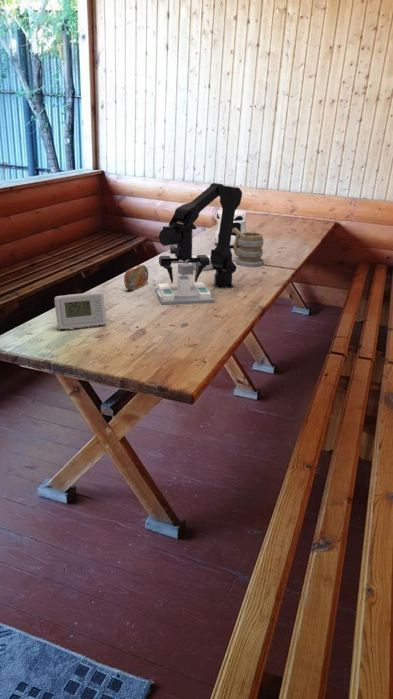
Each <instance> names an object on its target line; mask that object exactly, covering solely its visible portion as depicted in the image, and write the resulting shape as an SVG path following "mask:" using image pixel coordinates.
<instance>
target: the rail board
mask: <svg viewBox="0 0 393 699" xmlns="http://www.w3.org/2000/svg"><path fill="white" fill-rule="evenodd" d="M177 287H178V286H171V287H170V284H169V283H158V284H157V287H155V288H154V291H155V293H156V295H157V297H158V299H159V302H160V303H161V305H164V306H165V305H166V306H167V305H183V304H185V305H186V304H188V305H189V304H206V303H207V304H209V303H215V298H214V297H213V296H212V294H211V291H210V290H209V289H208V288H207V286H206V285H205V284H204V283H203V281H202V282H199V281H197V282H192V286H191V291H190V295H180V294H179V293H178V291H177Z"/></svg>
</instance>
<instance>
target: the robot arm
mask: <svg viewBox="0 0 393 699" xmlns="http://www.w3.org/2000/svg"><path fill="white" fill-rule="evenodd" d="M218 197H219V202H220V206H221V210H222V217H221V224H220V231H219V238H218V244H217V243H216V247H215V248H214V249H213V248H212V249H211V250H210V255H211V257H210V259H211V264H212V269H213V271H214V270H215V273H214V277H213V278H214V279H213V282H214V285H215V286H216V287H217V288H233V287H234V286H233V274H234V273H236V272H237V268H238V267H237V265H236V263H234V261H233V253H232V250H231V247H230V241H231V234H232V227H233V221H234V214H235V210H236V209H237V210H238V207H239V206H240V204H241V201H242V198H243V192H242V190H241V188H240V187H237V186H229V185H224V184H223V183H219V182H218V183H217V182H213V183H211V184H210V185H209V187H207V188H206V189H205V190H204V191H202V192H201V193H200V194H199V195H198V196H196V197H195V198H194V199H192V201H190V202H188V203H184V204H182V205H180V206H178V207H177V208H176V209H175V210H174V214H173V215H172V217H171V220H170V221H169V223H168V226H166V225H165V226H162V230H161V231H160V232H159V235H158V240H159V243H160V244H161V246H163V247H168V246H169V254H170V255H174V257H173V258H172V257H171V256H170V255H159V257H158V264H159V266H160V267H162V268H163V269H166V271H167V273H168V276H169V278H170V279H169V280H170V282H171V284H173V283H174V276H173V267H172V264H182V263H189V264H191V263H196V270H195V272H194V283H198V279H199V277H200V275H201V273H202V270H203V268H204V267H206V265H210V259H209V258H208V257H207V256H206V255H207V254H205V255H197V254H196V255H197V258H192V255H193V230H197V229H198V228H197V226H196V225H195V224H194V223H195V222H196V221H197V220H198V218H199V216H200V213H201V212H202V211H203V210H204V209H206V208H207V206H209V205H210V204H211V203H213V201H215V200H216V199H217V198H218Z"/></svg>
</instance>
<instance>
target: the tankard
mask: <svg viewBox="0 0 393 699" xmlns="http://www.w3.org/2000/svg"><path fill="white" fill-rule="evenodd" d="M232 233H236V239H235V243H234V247H233V252H234V255H235V256H237V258H236V260H235V265H239V266H241V267H247V268H248V267H250V268H256V267H260V266H263V264H264V259H263V258H262V256H263V253H264V252H263V251H264V249H263V248H262V247H263V246H264V239H263V235H264V234H263V233H260V232H254V231H246V232H243V233H241V232H240V231H239V230H238V229H237V228H234V229H232ZM238 245H240V246H238Z"/></svg>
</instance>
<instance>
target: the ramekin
mask: <svg viewBox="0 0 393 699" xmlns="http://www.w3.org/2000/svg"><path fill="white" fill-rule="evenodd" d="M197 255H206V256H207V257H208V258H209V259H210V257H211V254H200V253H198V254H192V258H197ZM190 264H191V265H193V270H195V271H196V263H190ZM212 269H213V267H212V264H211V259H210V265H206V267H204V268H203V270H204V271H211V270H212Z"/></svg>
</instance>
